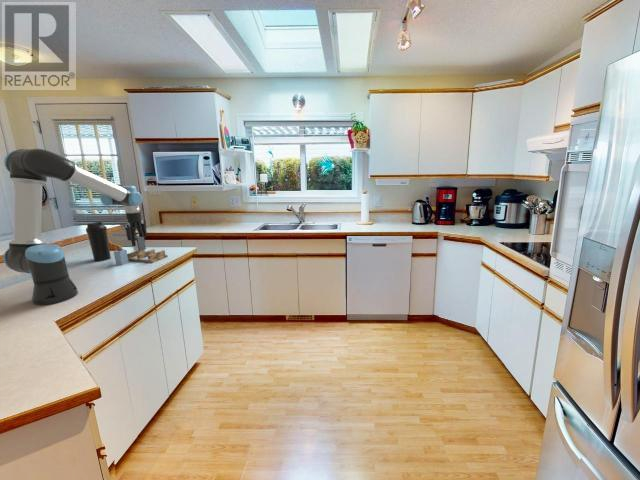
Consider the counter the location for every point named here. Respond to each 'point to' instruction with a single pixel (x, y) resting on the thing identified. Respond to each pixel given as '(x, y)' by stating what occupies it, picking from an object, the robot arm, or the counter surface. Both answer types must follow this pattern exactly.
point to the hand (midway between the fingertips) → (139, 249)
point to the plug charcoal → (140, 242)
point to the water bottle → (98, 241)
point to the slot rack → (146, 256)
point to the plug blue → (121, 256)
